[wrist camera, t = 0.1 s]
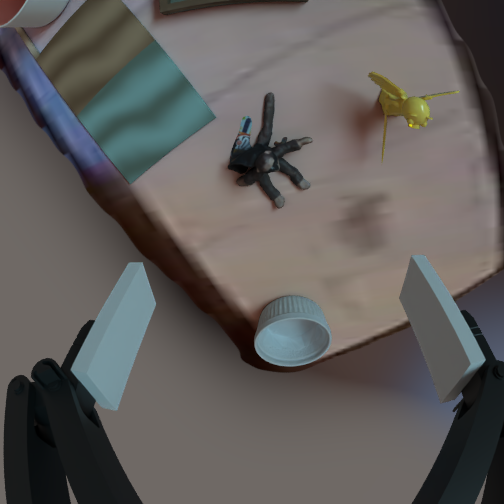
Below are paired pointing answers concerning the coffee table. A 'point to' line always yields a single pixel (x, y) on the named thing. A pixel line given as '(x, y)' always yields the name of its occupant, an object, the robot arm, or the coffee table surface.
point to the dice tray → (201, 4)
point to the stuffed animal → (265, 156)
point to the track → (121, 85)
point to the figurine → (402, 104)
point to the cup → (29, 12)
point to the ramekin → (292, 332)
